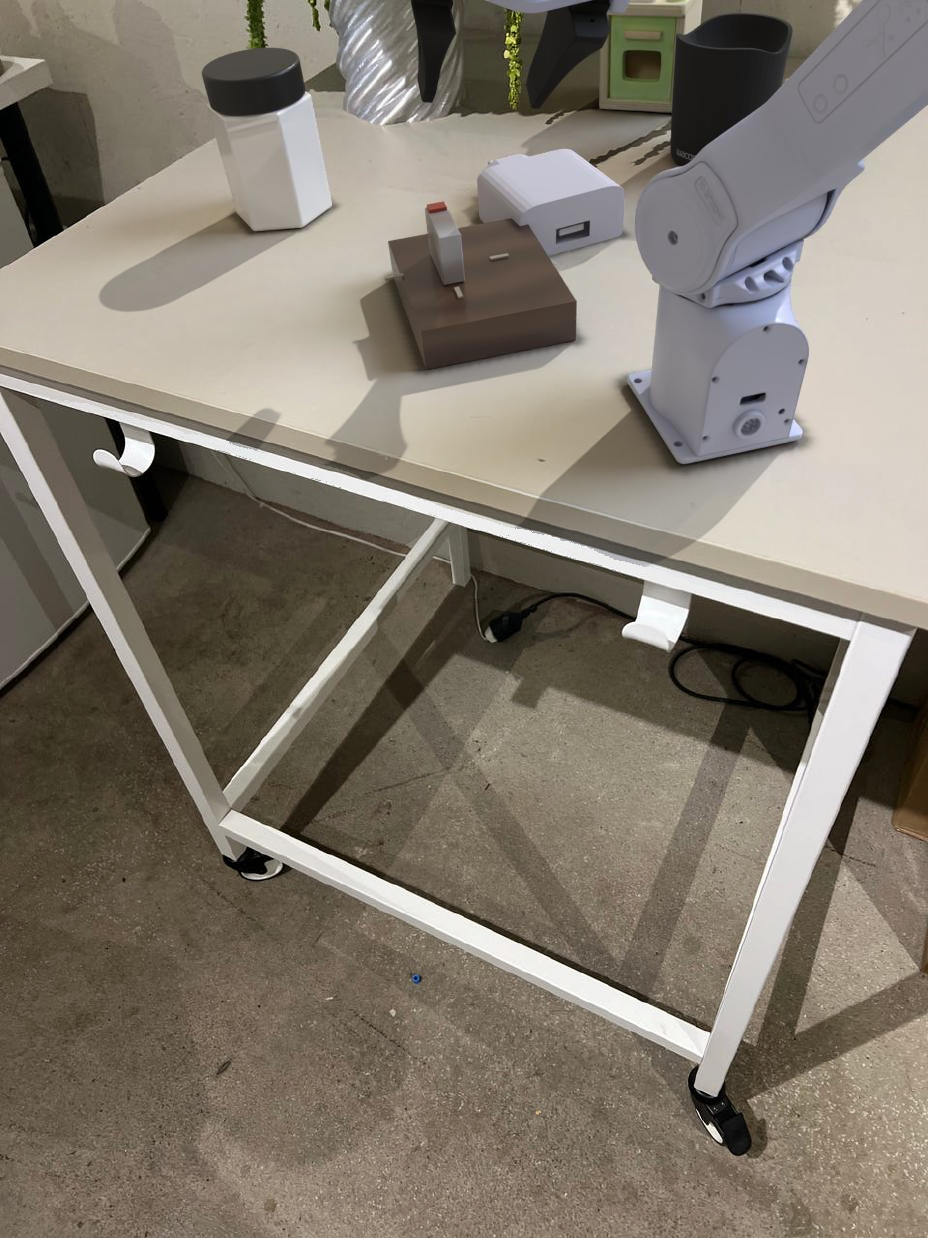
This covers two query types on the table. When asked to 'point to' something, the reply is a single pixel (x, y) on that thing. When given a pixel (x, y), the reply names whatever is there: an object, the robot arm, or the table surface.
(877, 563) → the table surface
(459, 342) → the brown square block base
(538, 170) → the charger
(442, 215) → the block
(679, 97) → the pen holder
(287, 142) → the jar
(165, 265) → the table surface
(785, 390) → the robot arm
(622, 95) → the toy kitchen stove
